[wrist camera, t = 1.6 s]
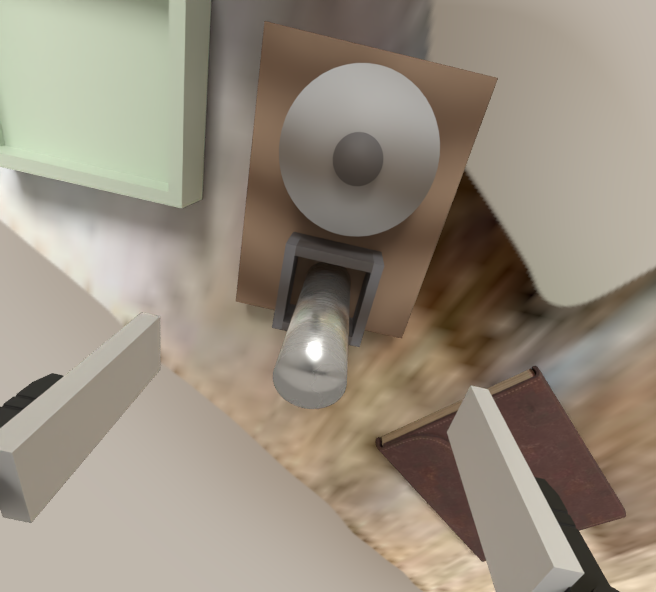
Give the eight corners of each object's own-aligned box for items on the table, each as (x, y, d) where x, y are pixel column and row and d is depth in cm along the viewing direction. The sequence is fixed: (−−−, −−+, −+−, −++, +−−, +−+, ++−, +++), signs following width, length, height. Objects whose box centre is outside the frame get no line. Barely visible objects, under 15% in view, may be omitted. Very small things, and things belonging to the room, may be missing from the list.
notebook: (533, 361, 27) (545, 377, 25) (617, 499, 33) (632, 520, 31) (375, 434, 32) (376, 452, 30) (474, 543, 38) (480, 563, 36)
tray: (-38, -94, 17) (-111, -135, 15) (212, -32, 18) (186, -61, 15) (9, 155, 23) (-38, 158, 20) (202, 199, 23) (181, 208, 20)
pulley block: (273, 31, 19) (244, -4, 14) (484, 83, 19) (528, 66, 14) (244, 289, 26) (218, 326, 21) (398, 324, 26) (408, 368, 21)
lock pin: (310, 256, 22) (278, 342, 13) (355, 266, 22) (354, 359, 13) (302, 296, 23) (268, 400, 14) (344, 306, 23) (337, 415, 14)
